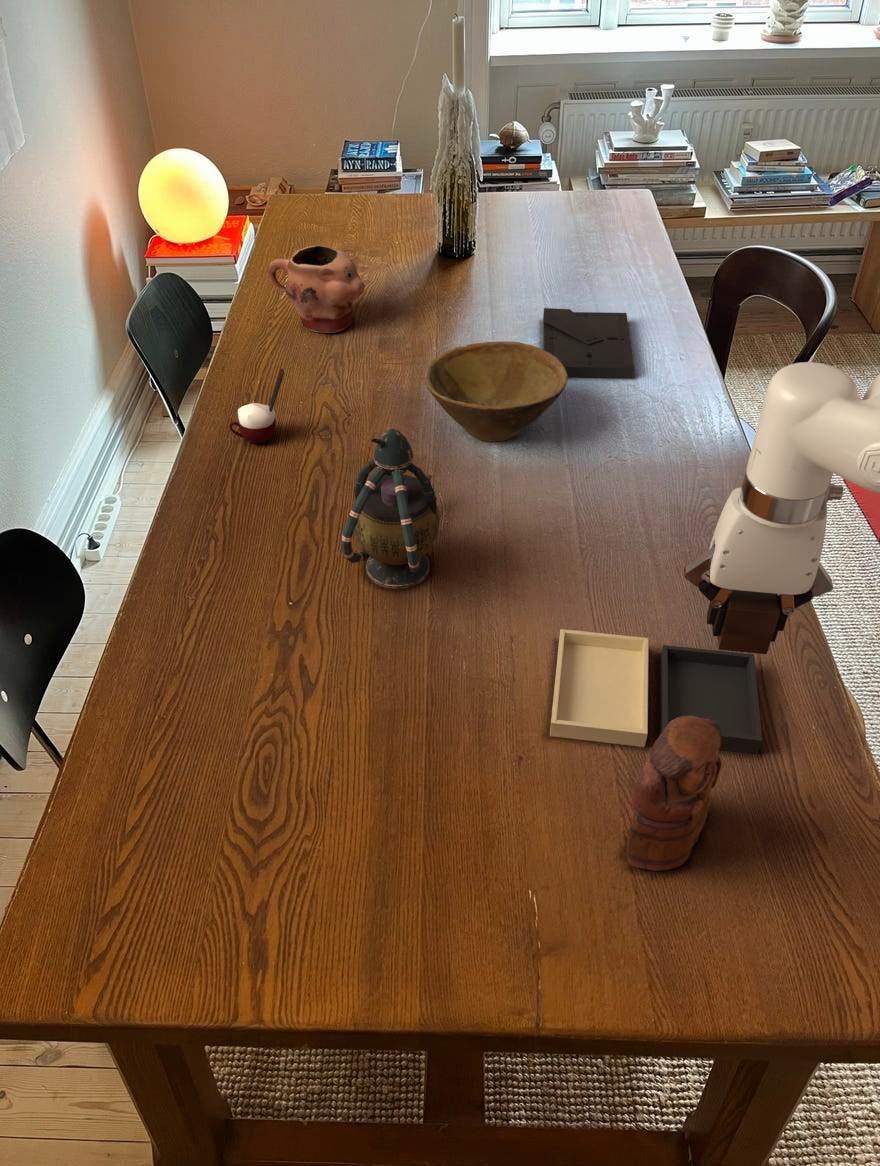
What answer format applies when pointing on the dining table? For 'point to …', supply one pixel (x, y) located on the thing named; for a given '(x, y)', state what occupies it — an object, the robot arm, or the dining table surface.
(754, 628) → the walnut block
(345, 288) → the sculpted clay mug
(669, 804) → the wooden figurine
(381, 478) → the green octopus jar
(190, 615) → the dining table surface
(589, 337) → the dark brown flat slab
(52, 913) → the dining table surface
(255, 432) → the cocoa
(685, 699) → the dark tray
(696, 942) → the dining table surface
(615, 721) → the pale tray
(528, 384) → the bowl
